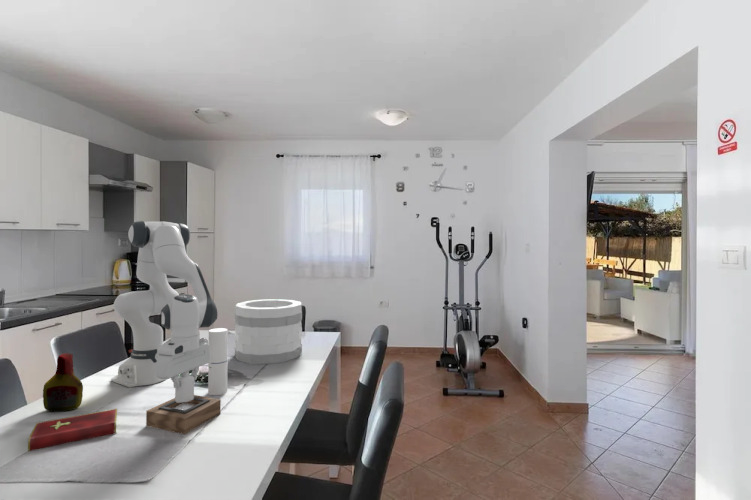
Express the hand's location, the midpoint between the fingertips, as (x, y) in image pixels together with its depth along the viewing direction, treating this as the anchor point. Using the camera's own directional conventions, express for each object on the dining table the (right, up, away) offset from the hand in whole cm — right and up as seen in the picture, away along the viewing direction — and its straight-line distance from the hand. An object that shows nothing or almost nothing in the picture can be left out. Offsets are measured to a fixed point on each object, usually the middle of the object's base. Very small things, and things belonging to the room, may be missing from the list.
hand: (185, 384), depth 133 cm
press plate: (0, -9, 0) cm, 9 cm away
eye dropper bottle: (0, -6, 0) cm, 6 cm away
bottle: (-47, -12, +7) cm, 49 cm away
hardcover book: (-29, -13, -10) cm, 33 cm away
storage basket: (+7, -11, +79) cm, 80 cm away
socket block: (0, -12, 0) cm, 12 cm away
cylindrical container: (+1, -12, +25) cm, 28 cm away
